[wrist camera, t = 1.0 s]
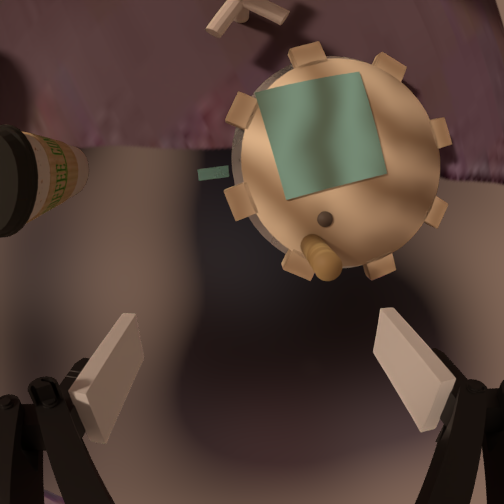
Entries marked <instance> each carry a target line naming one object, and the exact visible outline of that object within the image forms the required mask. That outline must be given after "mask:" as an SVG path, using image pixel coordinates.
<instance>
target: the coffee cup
mask: <svg viewBox="0 0 504 504" xmlns="http://www.w3.org/2000/svg"><path fill="white" fill-rule="evenodd" d="M88 175H89V164H88V160H87V158H86V156H85V154H84V153H83V152H82V151H81V150H80V149H79V148H77V147H74V146H71V145H67V144H65V143H63V142H61V141H57V140H54V139H50V138H47V137H43V136H39V135H35V134H32V133H28V132H21V131H20V130H19V129H18V128H16V127H14V126H11V125H6V124H5V125H0V237H8V236H11V235H13V234H15V233H17V232H18V231H19V230H20V229H22V228H23V226H24V225H25V224H26V223H28V222H29V221H31V220H33V219H35V218H37V217H39V216H40V215H42V214H44V213H45V212H47V211H49V210H51V209H52V208H54V207H56V206H58V205H60V204H61V203H63V202H64V201H66V200H67V199H68V198H70V197H72V196H74V195H76V194H77V193H79V192H80V191H81V190H82V189H83V188H84V186H85V185H86V182H87V180H88Z"/></svg>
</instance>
